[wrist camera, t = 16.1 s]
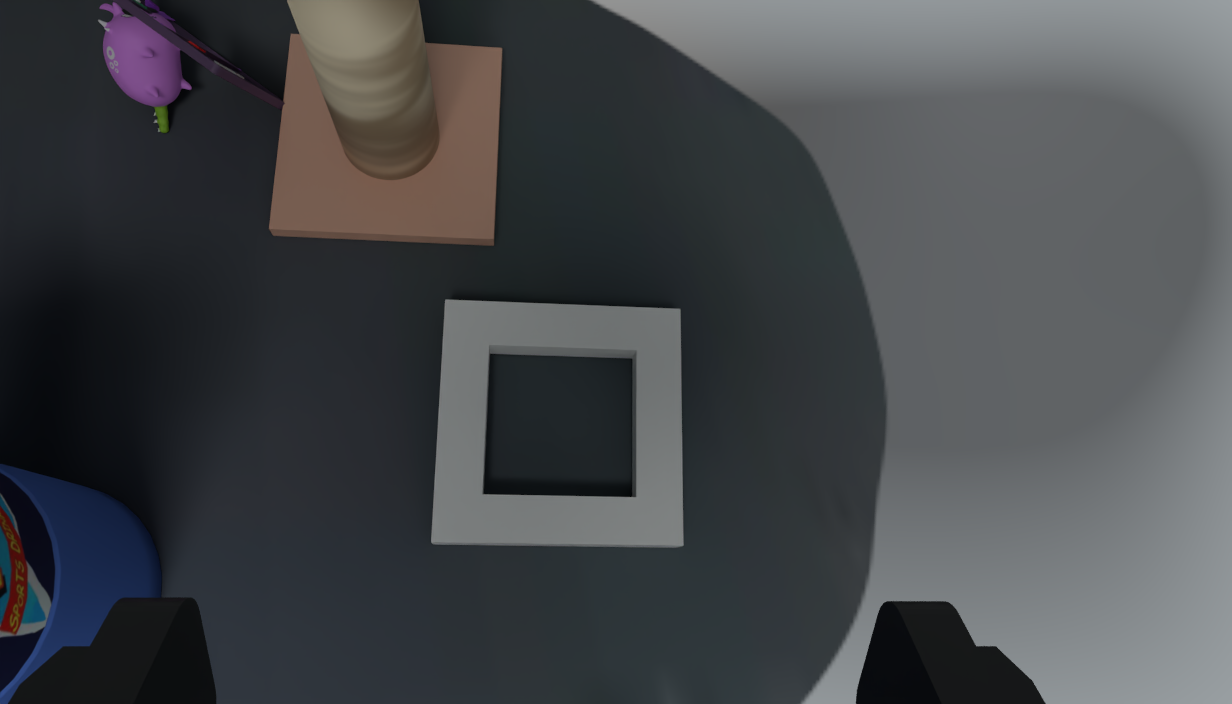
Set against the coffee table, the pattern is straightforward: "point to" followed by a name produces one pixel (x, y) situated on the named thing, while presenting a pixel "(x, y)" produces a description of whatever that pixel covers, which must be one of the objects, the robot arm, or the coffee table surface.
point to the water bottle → (63, 568)
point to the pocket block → (559, 518)
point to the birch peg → (373, 80)
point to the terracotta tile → (405, 208)
